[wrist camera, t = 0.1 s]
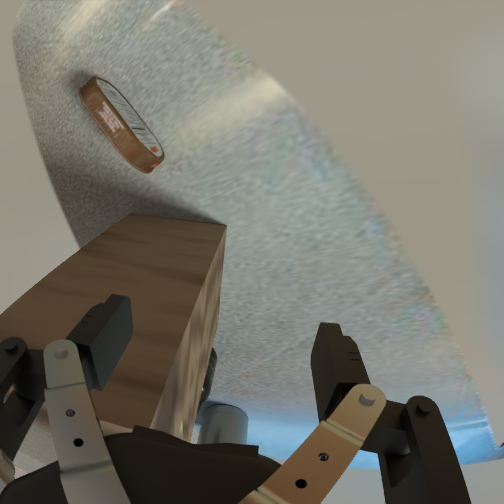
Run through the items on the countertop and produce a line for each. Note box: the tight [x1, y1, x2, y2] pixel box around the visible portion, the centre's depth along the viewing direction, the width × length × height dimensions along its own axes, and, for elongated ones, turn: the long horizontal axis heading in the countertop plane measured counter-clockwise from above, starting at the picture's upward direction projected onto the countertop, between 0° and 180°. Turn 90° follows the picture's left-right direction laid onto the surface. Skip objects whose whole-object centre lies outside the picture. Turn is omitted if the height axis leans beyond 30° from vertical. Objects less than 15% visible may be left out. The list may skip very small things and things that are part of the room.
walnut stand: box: [0, 214, 227, 443], centre depth 30 cm, size 16×14×32 cm
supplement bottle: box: [197, 348, 217, 412], centre depth 45 cm, size 7×7×12 cm
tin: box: [79, 76, 164, 174], centre depth 33 cm, size 15×3×8 cm, turn 36°
